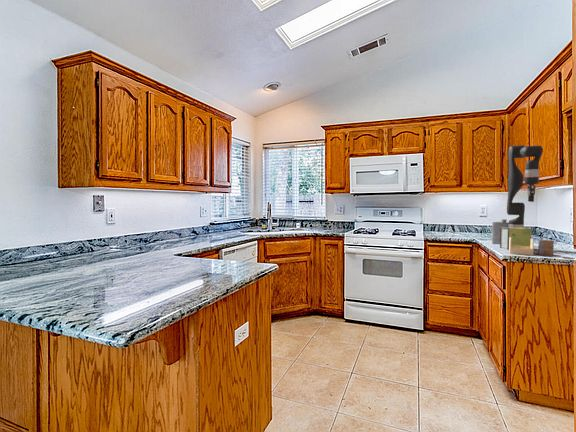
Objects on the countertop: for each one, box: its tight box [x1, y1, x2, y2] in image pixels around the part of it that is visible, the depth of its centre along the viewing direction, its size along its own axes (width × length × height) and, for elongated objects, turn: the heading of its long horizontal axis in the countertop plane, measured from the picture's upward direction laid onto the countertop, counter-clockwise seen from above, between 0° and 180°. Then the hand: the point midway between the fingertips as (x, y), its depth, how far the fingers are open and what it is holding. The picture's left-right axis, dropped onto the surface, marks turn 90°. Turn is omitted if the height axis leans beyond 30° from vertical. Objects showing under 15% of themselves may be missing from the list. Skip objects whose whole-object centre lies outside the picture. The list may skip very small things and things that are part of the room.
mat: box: [535, 252, 556, 257], centre depth 208 cm, size 10×9×1 cm
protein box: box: [499, 227, 532, 251], centre depth 233 cm, size 10×15×16 cm
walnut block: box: [537, 239, 555, 257], centre depth 208 cm, size 5×7×9 cm
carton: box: [508, 237, 534, 256], centre depth 215 cm, size 13×12×10 cm
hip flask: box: [491, 218, 509, 245], centre depth 261 cm, size 16×4×20 cm, turn 49°
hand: (530, 201), depth 215 cm, fingers open, 8 cm apart
